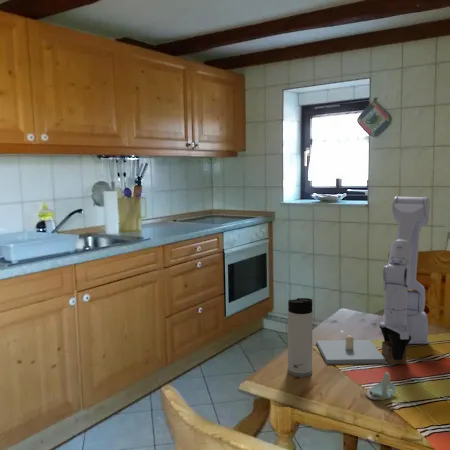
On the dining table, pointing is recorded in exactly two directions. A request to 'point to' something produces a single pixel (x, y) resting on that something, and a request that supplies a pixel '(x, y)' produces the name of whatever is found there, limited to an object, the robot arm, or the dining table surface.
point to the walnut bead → (389, 355)
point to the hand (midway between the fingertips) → (394, 355)
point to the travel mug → (300, 337)
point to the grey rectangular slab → (349, 351)
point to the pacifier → (382, 389)
